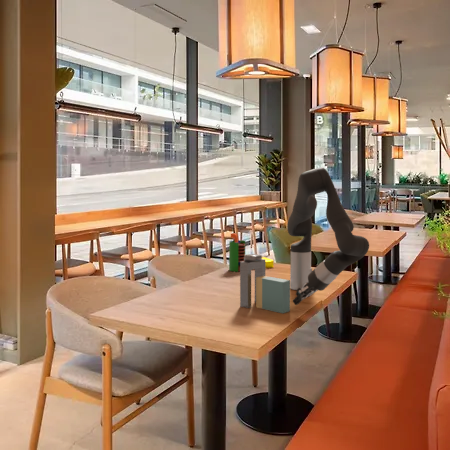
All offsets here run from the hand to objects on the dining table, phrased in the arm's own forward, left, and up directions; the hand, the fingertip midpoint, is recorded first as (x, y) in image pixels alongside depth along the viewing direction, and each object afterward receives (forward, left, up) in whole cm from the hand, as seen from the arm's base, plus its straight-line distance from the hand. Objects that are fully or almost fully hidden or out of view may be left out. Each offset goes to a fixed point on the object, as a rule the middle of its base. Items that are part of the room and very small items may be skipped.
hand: (295, 302), depth 189 cm
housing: (+13, -16, -4) cm, 21 cm away
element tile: (-4, -98, -5) cm, 98 cm away
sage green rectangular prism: (+7, -8, -4) cm, 11 cm away
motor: (+9, -88, -5) cm, 89 cm away
